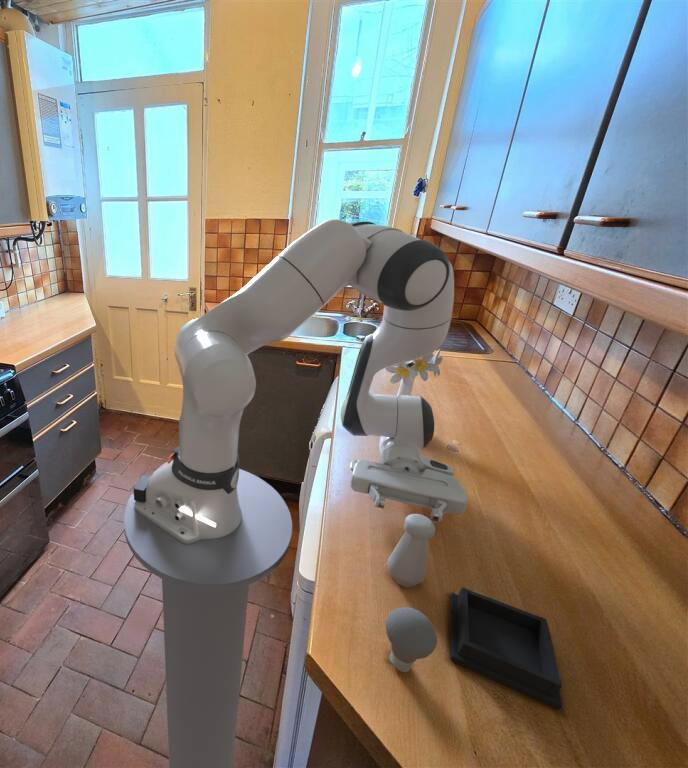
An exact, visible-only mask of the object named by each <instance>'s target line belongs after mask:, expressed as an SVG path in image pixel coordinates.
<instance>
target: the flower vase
mask: <svg viewBox="0 0 688 768" xmlns="http://www.w3.org/2000/svg"><path fill="white" fill-rule="evenodd" d="M434 353H435V351H433V352H432V353H430V354H428V355H427V356H424V357H422V358H420V359H417V360H413V361H408V362H403V363H399V364H395V365H392V366H389V367H387V368H385V370H386V371H387V372H388V373H391V374H393V375H392V376H391V378H390V380H389V382H390V383H391V384H393V385H395V384H397V383H399V382H400V384H399V386H398V391H397V394H396V395H412V390H413V387H414V382H415V380H416V377H418V376H420V378H421V380H422V381H424V382H427V381H428V379H429V373H428V372H432V374H433V376H434V378H436V377H437V376H438V377H441V370H440V367H439V365H440V364H441V363H442V362H443V356H440V353H441V348H439V349H438V350H437V351H436V353H435V354H434Z"/></svg>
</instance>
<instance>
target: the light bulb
mask: <svg viewBox="0 0 688 768" xmlns="http://www.w3.org/2000/svg"><path fill="white" fill-rule="evenodd" d="M385 632H386V636H387V638H388V640H389V642H390V649H391V652H390V655H389V661H390V664H391V665H392V667H394V668H395V669H396V670H398V671H400V672H403V673H407V672H409V671H410V670H411V668H412V665H413V663H415V662H416V661H417V660H421V659H425V658H428V657H429V656H431V655H432V654H433V653H434V651H435V649H436V648H437V644H438V636H437V631H436V628H435V627H434V625H433V623H432V622H431V621H430V619H429V618H428V617H427V615H425V614H424V613H423V612H421V611H420V610H418V609H415V608H413V607H410V606H409V607H408V606H400V607H397V608H394V609H393V610H391V611H390V613H389V614H388V615H387V617H386V619H385Z"/></svg>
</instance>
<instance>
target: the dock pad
mask: <svg viewBox="0 0 688 768" xmlns="http://www.w3.org/2000/svg"><path fill="white" fill-rule="evenodd" d="M549 627H550V626H549V623H548V619H547V618H545V617H542V616H540V615H538V614H537V615H536V614H534V613H531V612H529V611H526V610H523V609H522V608H519V607H515V606H513V605H510V604H507V603H505V602H502V601H499V600H498V599H494V598H492V597H489V596H487V595H484V594H481V593H480V592H476V591H474V590H471V589H467V588H466V587H463V586H461V587H460V590H459V592H458V593H455V592H451V594H450V657H449V658H450V661H451V662H453V663H455V664H457V665H459V666H462V667H464V668H466V669H467V670H470V671H473V672H474V673H477V674H480V675H481V676H484V677H486V678H488V679H490V680H492V681H494V682H497V683H499V684H501V685H502V686H506V687H508V688H510V689H512V690H514V691H516V692H519V693H521V694H522V695H525V696H527V697H529V698H531V699H533V700H536V701H538V702H541V703H542V704H545V705H546V706H549V707H551V708H554V709H555V710H557V711H561V709H562V708H563V701H562V697H561V692H560V691H561V689H562V687H563V685H562V679H561V676H560V672H559V668H558V662H557V658H556V654H555V650H554V645H553V644H554V643H553V640H552V635H551V631H550V628H549Z"/></svg>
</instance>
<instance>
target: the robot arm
mask: <svg viewBox="0 0 688 768" xmlns="http://www.w3.org/2000/svg"><path fill="white" fill-rule="evenodd" d="M349 286H350V287H351V288H353V290H355V291H357V292H358V293H359V294H361V295H362V296H364V297H367V298H368V299H371V300H372V301H376V302H378V303H382V305H383V313H382V320H381V322H380V325H379V326H378V327H377V328H376V330H375V331H374V332H372V333H370V334H369V335H366V336H365V337H364V339H363V341H362V343H361V344H360V348H359V351H358V354H357V358H356V361H355V365H354V368H353V372H352V376H351V380H350V384H349V387H348V392H347V394H346V397H345V399H344V401H343V403H342V406H341V409H340V421H341V426H342V427H343V428H344V429H345V430H346V431H347V432H348V433H349V434H350V435H352V436H353V437H369V436H370V437H371V436H372V437H380V439H379V446H378V451H379V462H375V461H370V460H366V459H365V460H364V459H358V460H352V461H351V462H350V465H349V468H350V470H351V477H350V483H349V487H350V488H351V489H352V490H353V491H354V492H357V493H362V494H366V495H368V497H369V498H370V499H371V500H372V502H374V507H375V508H378V509H382V510H383V509H385V504H386V499H388V500H391V501H395V502H399V503H403V504H408V505H412V506H417V507H420V508H425V509H428V510H431V511H430V515H429V517H430V518H429V519H430V520H431V521H432V522H435V523H439V524H441V523H442V520H443V516H444V514H445V513H446V514H450V515H454V516H462V515H463V514H464V513H465V512H466V509H467V505H468V496H467V493H466V491H465V489H464V487H463V484H462V483H461V481H460V480H459V479H458V478H457V477H456V476H454V474H455V470H454V468H453V467H452V466H451V465H448V464H446V463H442V462H439V461H437V460H434V459H432V458H430V457H428V456H426V455H424V449H425V448H426V447H427V446H428V445H429V444H430V443H431V441H432V440H433V438H434V435H435V417H434V412H433V407H432V405H430V403H429V402H428V401H427V400H426V399H425V398H424V397H423V396H421V395H412V394H411V395H397V394H386V393H385V394H384V393H370V390H371V387H372V384H373V380H374V377H375V375H377V373H379V372H380V371H383V370H385V369H386V368H387V367H389V366H392V365H395V364H399V363H403V362H408V361H413V360H417V359H420V358H422V357H424V356H427V355H428V354H430V353H432V352H433V351H434V352H436V350H437V349H438V348H440V347H441V346H442V345H443V343H444V342H445V340H446V338H447V335H448V332H449V330H450V326H451V321H452V316H453V311H454V304H455V303H454V301H455V274H454V268H453V265H452V263H451V262H450V260H449V258H448V256H447V254H446V252H444V251H443V249H441V248H440V247H439V246H438V245H437V244H434V243H433V242H431V241H429V240H425V239H420V238H418V237H417V236H414V235H412V234H410V233H407V232H404V231H403V230H401V229H398V228H395V227H393V226H387V225H382V224H376V223H374V222H371V221H354V222H347V221H346V220H343V219H338V218H334V219H333V218H332V219H327V220H325V221H323V222H321V223H319V224H318V225H315V226H314V227H313V228H311V229H310V230H309V231H307V232H306V233H304V234H303V235H301V236H300V237H299V238H297V239H296V240H294V241H293V242H292V243H290V244H289V245H288V246H287V247H286V248H285V249H284V250H283V251H282V252H280V253H279V254H278V255H277V256H276V257H275V258H274V259H272V261H271V262H270V263H269V264H267V265H266V266H265V267H264V268H263V269H261V271H260V272H259V273H257V274H256V276H254V277H253V278H252V279H250V281H249V282H247V284H246V285H244V286H243V287H242V288H240V289H239V290H238V291H237V292H235V293H234V294H233V295H232V296H230V297H228V298H227V299H225V300H223V301H222V302H220V303H219V304H218V305H216V306H214V307H212V308H211V309H210V310H208V311H207V312H205V313H204V314H202V315H201V316H200V317H198V318H194V319H192V320H190V321H189V320H188V322H186V323H185V324H184V325H183V326H181V328H180V329H179V331H178V333H177V334H176V335H177V336H176V339H175V343H174V358H175V360H176V363H177V366H178V370H179V373H180V377H181V382H182V404H181V412H180V416H179V419H178V430H179V431H178V437H179V441H178V442H179V444H178V445H179V446H177V447H176V448H175V449H173V450H172V454H170V455H169V456H168V458H167V461H166V462H165V463H163V464H161V465H160V466H159V467H157V468H156V469H155V471H154V472H153V473H152V474H151V475H147V474H142V475H141V477H140V478H139V480H138V481H137V482H136V484H135V486H133V488H132V490H133V493H134V500H135V509H136V510H137V511H138V512H139V513H141V514H142V515H144V516H145V517H147V518H148V519H149V520H151V521H152V522H154V523H155V524H157V525H158V526H159V527H161V528H162V529H164V530H165V531H167V532H168V533H169V534H171V535H172V536H174V537H175V538H177V539H178V540H180V541H181V542H182V543H185V544H189V543H193V542H196V541H198V540H202V539H215V538H220V537H223V536H226V535H228V534H230V533H232V532H233V531H234V530H235V529H236V528H237V527H238V526H239V524H240V522H241V519H242V511H241V508H240V505H239V500H238V493H237V484H238V480H239V469H240V454H239V453H238V451H239V436H240V425H241V420H242V416H243V413H244V410H245V408H246V407H247V406H248V405H249V404H250V402H251V401H252V399H253V398H254V396H255V392H256V388H257V380H256V375H255V371H254V368H253V364H252V362H251V361H252V360H250V358H249V356H248V355H249V354H251V353H253V352H254V351H256V350H258V349H260V348H262V347H264V346H267V345H269V344H272V343H277V342H278V343H279V342H281V341H284V340H286V339H288V338H289V337H290V336H291V335H292V334H294V333H295V332H296V331H297V330H298V329H299V328H301V327H302V326H303V325H304V324H305V323H306V322H307V321H309V320H310V319H311V318H312V317H313V316H314V315H316V314H317V313H318V312H319V311H320V310H321V309H323V307H325V306H326V305H327V304H328V303H330V301H331V300H333V298H334V297H335V296H337V295H338V293H340V291H342V289H344V288H347V287H349ZM434 352H433V353H434Z"/></svg>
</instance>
